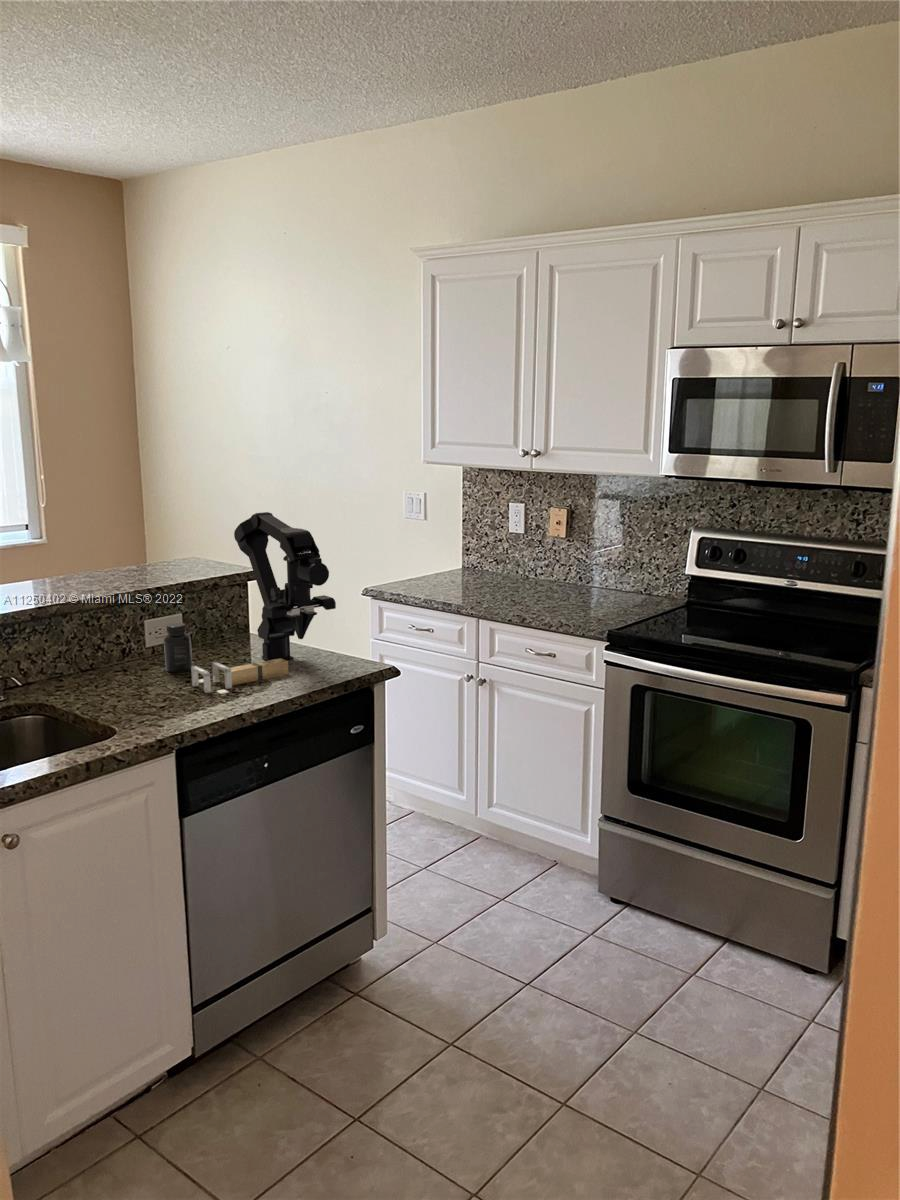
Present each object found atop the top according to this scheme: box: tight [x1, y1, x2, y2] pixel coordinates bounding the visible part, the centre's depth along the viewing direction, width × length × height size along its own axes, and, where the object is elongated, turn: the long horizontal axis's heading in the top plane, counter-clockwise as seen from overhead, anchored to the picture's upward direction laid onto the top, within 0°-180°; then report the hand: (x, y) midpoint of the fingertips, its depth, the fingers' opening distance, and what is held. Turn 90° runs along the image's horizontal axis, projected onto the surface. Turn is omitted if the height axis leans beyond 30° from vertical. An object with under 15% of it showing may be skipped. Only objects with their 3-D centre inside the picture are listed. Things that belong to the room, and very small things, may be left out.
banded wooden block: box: [223, 658, 289, 686], centre depth 243 cm, size 16×4×4 cm, turn 129°
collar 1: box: [190, 665, 212, 694], centre depth 233 cm, size 1×8×5 cm, turn 39°
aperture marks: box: [199, 678, 229, 695], centre depth 235 cm, size 2×14×1 cm, turn 39°
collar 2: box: [211, 661, 233, 690], centre depth 237 cm, size 1×8×5 cm, turn 39°
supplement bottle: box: [163, 622, 194, 673], centre depth 250 cm, size 7×7×12 cm
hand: (300, 638), depth 249 cm, fingers closed
